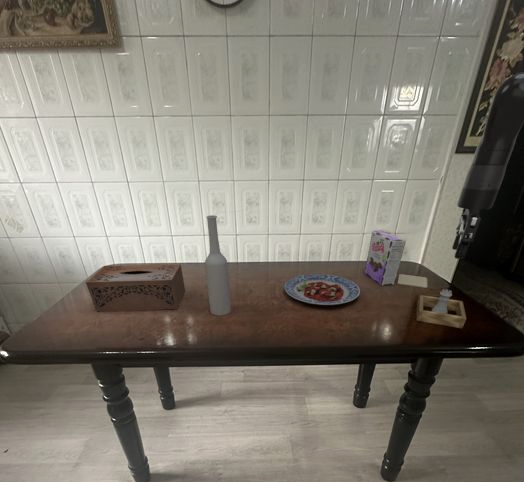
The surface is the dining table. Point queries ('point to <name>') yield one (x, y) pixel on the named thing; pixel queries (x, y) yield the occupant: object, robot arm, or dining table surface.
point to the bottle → (217, 273)
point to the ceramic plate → (322, 289)
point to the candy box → (384, 257)
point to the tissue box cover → (137, 287)
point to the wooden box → (441, 318)
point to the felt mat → (412, 280)
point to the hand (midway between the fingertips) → (457, 253)
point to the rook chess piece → (442, 302)
